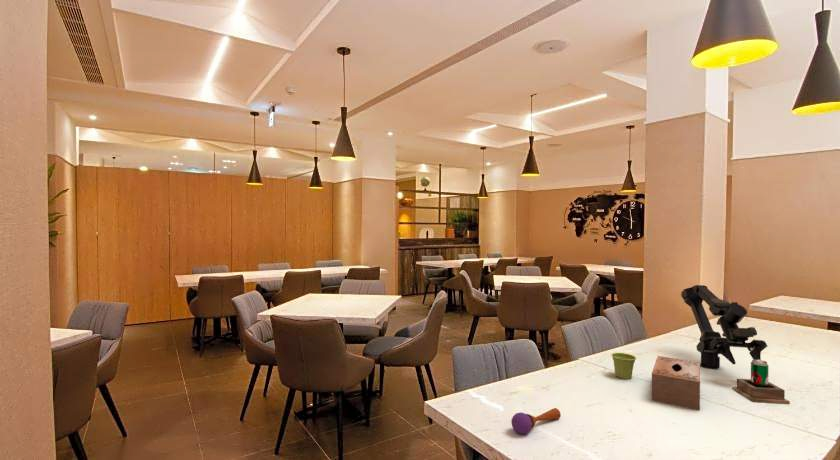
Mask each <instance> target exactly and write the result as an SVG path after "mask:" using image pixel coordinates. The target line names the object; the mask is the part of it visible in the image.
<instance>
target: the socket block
mask: <svg viewBox="0 0 840 460" xmlns="http://www.w3.org/2000/svg"><path fill="white" fill-rule="evenodd" d="M731 389H732V391H735V392H736V393H738V394H740V395H741V396H742V397H744V398H746V399H747V400H749V401H750V402H751V403H763V404H764V403H765V404H781V405H782V404H784V405H790V404H791V403H790V400H789V399H787V398H785V397H786V396H785V390H784V389H783V388H781V387H779V385H778V386H777V385H775V384H773V383H772V382H770V381H768V388H761V387H754V386H753V385H751V378H749V379H748V378H736V386H732V387H731Z"/></svg>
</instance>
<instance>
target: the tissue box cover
mask: <svg viewBox="0 0 840 460" xmlns="http://www.w3.org/2000/svg"><path fill="white" fill-rule="evenodd" d="M700 364H701V361H695V360H688V359H683V358H682V359H681V358H675V357H670V356H664V355H663V356H661V355H657V357H656V360H655V363H654V366H653V368H652V372H651V401H652V402H657V403H662V404H667V405H671V406H677V407H681V408H687V409H691V410H696V411H701V410H700V409H701V366H700Z"/></svg>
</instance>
